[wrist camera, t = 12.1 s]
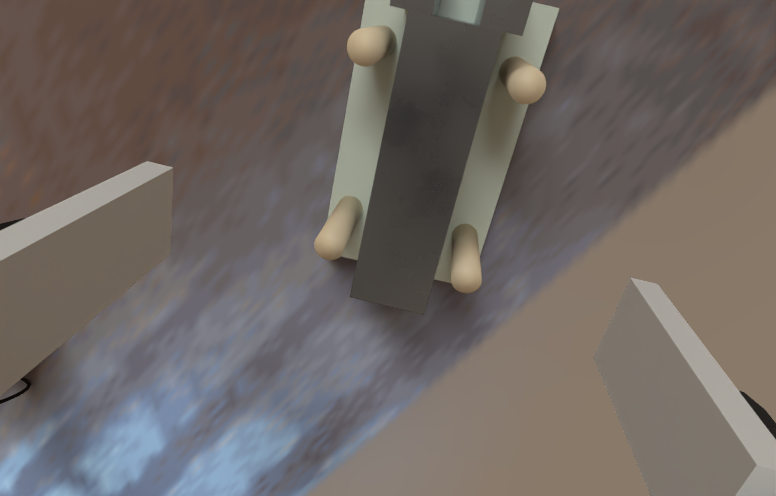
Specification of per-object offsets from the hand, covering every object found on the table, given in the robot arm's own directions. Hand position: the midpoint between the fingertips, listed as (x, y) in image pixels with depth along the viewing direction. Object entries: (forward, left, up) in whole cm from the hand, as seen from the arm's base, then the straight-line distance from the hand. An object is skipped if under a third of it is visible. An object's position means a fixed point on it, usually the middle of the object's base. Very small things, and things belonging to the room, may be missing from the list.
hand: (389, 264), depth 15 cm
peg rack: (0, 0, -19) cm, 19 cm away
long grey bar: (+1, 0, -17) cm, 17 cm away
